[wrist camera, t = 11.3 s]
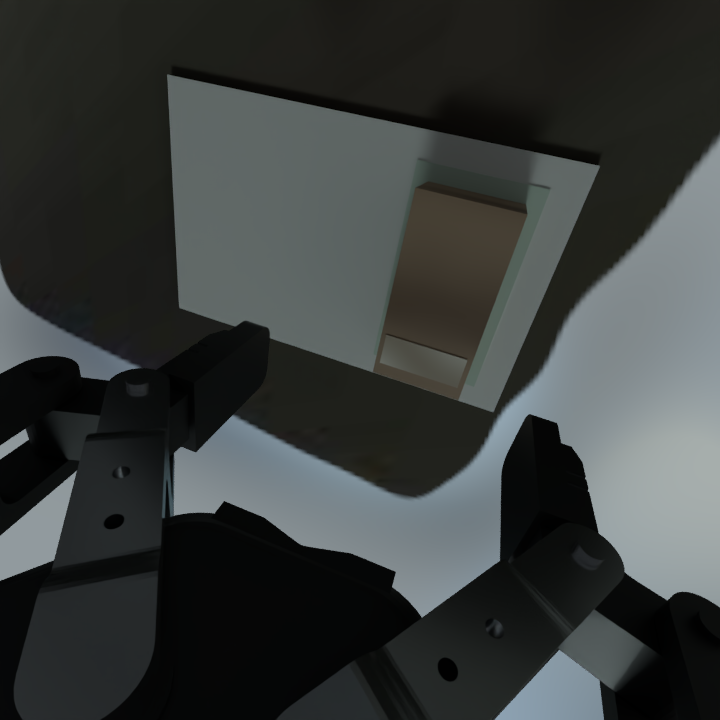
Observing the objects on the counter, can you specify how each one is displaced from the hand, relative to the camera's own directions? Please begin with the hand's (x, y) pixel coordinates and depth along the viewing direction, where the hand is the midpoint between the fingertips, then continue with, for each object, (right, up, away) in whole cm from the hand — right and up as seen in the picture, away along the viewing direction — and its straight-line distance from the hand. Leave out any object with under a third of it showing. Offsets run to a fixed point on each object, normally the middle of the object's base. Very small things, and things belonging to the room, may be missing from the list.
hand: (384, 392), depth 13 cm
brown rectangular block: (+4, +5, +9) cm, 11 cm away
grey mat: (-2, +7, +10) cm, 12 cm away
